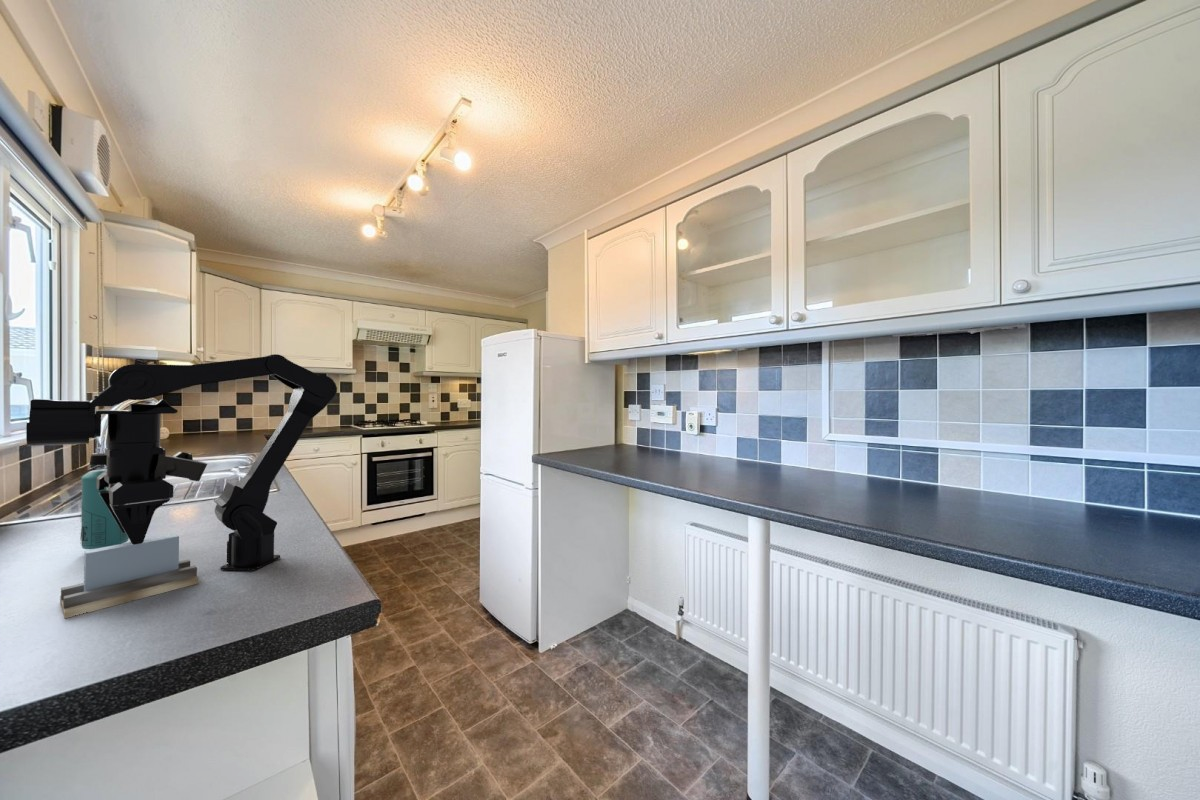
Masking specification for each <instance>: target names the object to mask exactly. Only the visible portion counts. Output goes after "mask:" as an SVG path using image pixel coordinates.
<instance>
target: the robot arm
mask: <svg viewBox="0 0 1200 800" xmlns="http://www.w3.org/2000/svg"><path fill="white" fill-rule="evenodd" d="M263 376H269V377H270V376H271V377H272V378H274V379H275V380H276V381H279V382H280V383H282V384H283V385H284V386H285V387H287V388H290V389H291V390H292V393H291V396H290V399H289V404H288V408H287V412H286V413H285V415H284V416H283V417H282V419H281V421H280V422H279V423H278V425H277V427H276V429H275V430H274V432H273V433H272V435H271V436H270V438H269V439H268V441H267V443H266V444H265V445H264V447H263V449H262V450H261V451H260V453H259V455H258V457H257V458H256V460H255V461H254V462H253V464H252V465H251V467H250V469H249V470H248V472H247V473H246V474H245V475H244V477H243V478H240V480H239V481H238V482H237V483H234V482H232V481H228V480H227V482H226V484H225V486H224V488H223V490H222V493H220V495H219V496H218V497H216V498H215V499H214V503H215V504H216V506H215V507H214V514H215V517H216V519H218V521H220V522H221V524H223V526H225V527H226V528H227V529H230V530H231V531H232V532H230V533H228V540H227V541H226V563H225V564H223V565H221V566H220V567H219V570H222V571H224V570H225V571H250V572H251V571H255V570H258V569H260V568H262V567H264V566H266V565H268V564H270V563H272V562H275V561H276V560H278V559H280V558H281V554H275V530H276V527H277V525H278V521H276V520H274V519H273V518H271V517H270V516H269V515H267V514H266V513H264V511H265V509H266V506H267V503H268V501H269V496H270V491H271V486H272V484H273V481H274V480H275V479H276V477H277V475H278V474H279V472H280V470H281V469H282V467H283V466H284V464H285V462H286V461H287V459H288V457H289V456H290V454H291V453H292V451H293V450H294V448H295V447H296V445H297V443H298V442H299V440H300V438H301V437H302V435H303V433H304V431H305V430H306V429H307V427H308V425H309V424H310V422H311V420H313V418H315V417H316V416H317V415H318V414H320V412H321V411H323V410H324V409H325V408H326V407H327V406H328V405H329V404H330V402H332V400H333V399H334V398H335V397H336V395H337V393H338V387H337V383H336V381H334V379H333V378H331V377H330V376H327V375H324V374H317V373H315V372H313V371H312V370H309V369H308V368H306V367H303V366H301V365H299V364H297V363H295V362H293V361H292V360H289V359H288V358H287V357H285V356H284V355H281V354H279V353H278V354H268V355H264V356H261V357H260V356H259V357H251V358H242V359H241V358H240V359H233V360H232V359H231V360H222V361H215V362H214V361H213V362H206V363H196V364H188V365H187V364H155V363H154V364H151V363H149V364H146V363H145V364H144V363H143V364H142V363H134V364H133V363H132V364H126V365H122V366H120V367H118V368H116V369H115V370H114V371H113V372H112V373H111V374H110V375H109V377H108V379H107V381H108V386H106V388H105V389H104V390H103V389H102V391H101V392H99V394H94V395H93V399H91V400H56V399H55V400H53V399H47V398H33V399H31V400H30V405H29V406H30V408H29V416H28V418H29V420H28V421H27V422H26V429H25V433H26V447H39V446H40V447H41V446H63V445H84V444H85V445H88V444H90V439H93V438H97V437H98V438H100V437H101V435H102V433H101V432H102V415H107V435H106V437H107V438H106V440H107V442H106V444H107V445H106V447H104V453H105V455H107V465H106V469H107V471H105V472H103V473H102V474H101V475H99V476H98V477H97V485H96V488H97V489H98V490H103V491H98V493H99V495H100V496H101V498H102V499H103V501H104V503H105V504H106V506H107V508H108V509H109V511H110V513H111V514H112V516H113V517H114V519H115V521H116V522H117V524H118V526H119V527H120V529H121V531H122V532H123V533H126V534H127V536H128V538H129V539H128V540H129V541H130V542H131V543H132V544H133V545H135V544H141V543H143V541H144V540H146V536H147V532H148V530H149V528H150V524H151V523H152V518H153V516H154V514H155V511H156V510H157V509H159V508H160V507H161V506H162V505H165V504H166V503H168V502H170V500H171V498H174V484H172V483H170V482H168V481H167V480H165V479H166V477H167V476H169V477H176V478H181V479H182V478H183V479H187V480H189V481H195V482H200V480H201V478H202V477H203V475H204V472H205V470H206V468H207V466H208V463H207V462H204V461H200V460H196V459H193V454H192V453H190V452H183V451H178V452H177V453H175V454H173V455H170V454H169V455H168V454H166V449H165V448H164V447H163V446H161V428H162V427H161V424H162V423H161V422H162V421H161V420H162V419H161V417H162V414H163V415H165V414H168V415H169V414H170V415H171V414H175V415H176V414H177V413H178V412H179V411H178V409H176V408H175V407H173V406H171V405H170V404H169V403H168V402H167V400H166V399H160V400H159V401H158V402H156V403H130V404H129V408H128V409H117V410H114V409H108V410H107V409H105V410H103V409H99V410H98V409H96V407H115V406H116V405H119V404H121V403H124V402H126V401H129V400H130V401H131V400H132V401H144V400H148V399H152V398H156V397H159V396H163V395H166V394H171V393H173V392H176V391H181V390H183V389H188V388H190V387H194V386H198V385H207V384H213V383H221V382H227V381H236V380H242V379H249V378H257V377H263ZM104 487H106V490H104Z"/></svg>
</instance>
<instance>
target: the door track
mask: <svg viewBox="0 0 1200 800" xmlns="http://www.w3.org/2000/svg"><path fill="white" fill-rule="evenodd" d="M199 579H200V577H199V576H198V566H196V565H191V560H190V559H189V558H188V559H184V560H179V569H177V570H173V571H169V572H165V573H160V574H156V575H152V576H148V577H143V578H139V579H135V580H131V581H126V582H122V583H118V584H114V585H109V586H105V587H101V588H97V589H92V590H88V591H84V582H82V583H77V584H73V585H69V586H64V587H61V588H60V595H59V602H60V607H61V610H63V611H62V614H63V618H64V619H67V618H71V617H76V616H80V615H83V613H84V614H87V613H86V612H88V613H91V612H96V611H98V610H102V609H106V608H110V607H115V606H118V605H122V604H126V603H128V602H133V601H136V600H140V599H144V598H148V597H152V596H155V595H159V594H164V593H167V592H170V591H171V592H172V591H174V590H179V589H183V588H186V587H189V586H194V585H198V584H200V583H199V582H200V581H199ZM132 600H133V601H132ZM79 614H80V615H79ZM75 615H76V616H75Z"/></svg>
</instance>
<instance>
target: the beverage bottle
mask: <svg viewBox="0 0 1200 800" xmlns="http://www.w3.org/2000/svg"><path fill="white" fill-rule="evenodd" d="M89 466H107V455H105V452H104V453H102V452H101V453H95V454H91V455H90V459H89ZM105 471H107V468H105V469H94V470H90V471H88V472H87V473H86V474H84V475H83V476H81V478H80V479H81V499H80V502H79V503H80V508H81V510H80V511H81V512H80V514H79V515H80V516H79V517H80V523H81V526H80V538H79V539H80V540H81V541H80V542H79V543H80V544H79V545H81V548H82V549H83V550H91V549H97V548H102V547H107V546H113V545H118V544H124V543H128V541H129V540H130V539H129V538H128V536H127V534H126V533H123V532H122V531H121V529H120V527H119V526H118V524H117V522H116V521H115V519H114V517H113V516H112V514H111V513H110V511H109V509H108V508H107V506H106V504H105V503H104V501H103V499H102V498H101V496H100V495H99V493H98V491H103V490H98V489H97V488H96V485H97V477H98V476H99V475H101V474H102V473H103V472H105ZM104 490H106V487H104Z"/></svg>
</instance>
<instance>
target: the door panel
mask: <svg viewBox="0 0 1200 800" xmlns="http://www.w3.org/2000/svg"><path fill="white" fill-rule="evenodd" d="M179 551H180V536H179V535H178V534H177V533H174V534H169V535H168V534H167V535H162V536H158V537H151V538H145V539H144V541H143V543H141V544H135V545H133V544H132V543H131V541H130V542H125V543H123V544H118V545H113V546H107V547H102V548H97V549H85V550H84V553H83V555H84V563H83V583H84V591H88V590H92V589H97V588H101V587H105V586H109V585H114V584H118V583H122V582H126V581H131V580H135V579H139V578H143V577H148V576H152V575H156V574H160V573H165V572H169V571H173V570H177V569H179V561H180V560H179V557H180V556H179V555H180V552H179Z"/></svg>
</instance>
